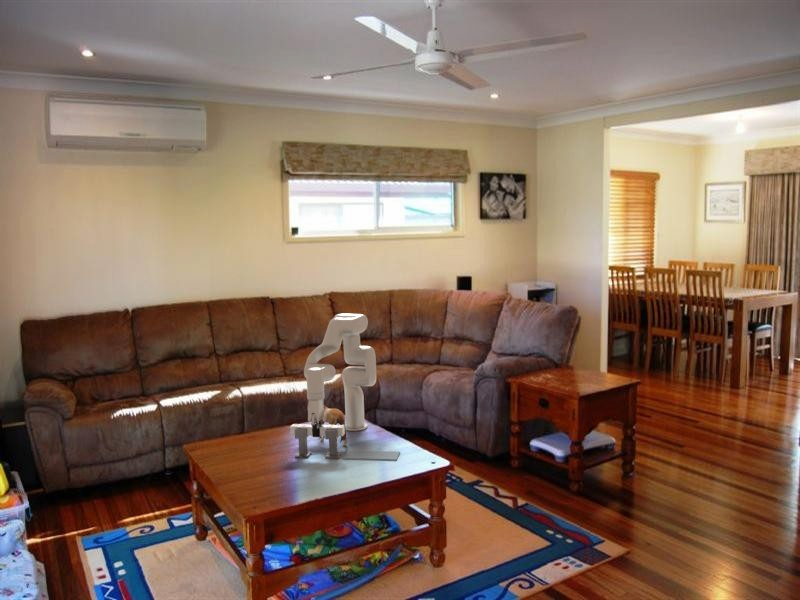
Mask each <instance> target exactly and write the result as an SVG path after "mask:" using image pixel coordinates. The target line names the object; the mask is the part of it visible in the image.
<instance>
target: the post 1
mask: <svg viewBox="0 0 800 600" xmlns="http://www.w3.org/2000/svg"><path fill="white" fill-rule="evenodd" d="M308 437H309V436H306V429H295V435H294V439H295V440H297V439H298V452H297V453H296V454H295V455H294V458H295V459H296V458H297V459H298V458H299V459H309V458H310V457H311V456H312V454H313V451H312V450H311V451H309V450H308V449H309V447H308Z"/></svg>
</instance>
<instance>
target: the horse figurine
mask: <svg viewBox="0 0 800 600" xmlns="http://www.w3.org/2000/svg"><path fill="white" fill-rule="evenodd" d="M305 399H306V405H307V406H308V402H309V400H308V397H305ZM306 408H307V411H308V407H306ZM325 423H328V425H344V426H345V424H346V416H345V414H344V413H343V411H342V410H340V409H338V408H329V407H327V406H326V405H325V404H324V417H323V418H322V425H325ZM347 432H348V431H347V430H346V426H345V434H344V435H343V436H340V441H339V443H342V442H343V441H344V442H343V444H342V446H343V447H347V446H348V440H347V435H348V434H347ZM319 438H320V442H324V441H325V436H320V437H319Z"/></svg>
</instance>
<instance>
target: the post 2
mask: <svg viewBox="0 0 800 600" xmlns="http://www.w3.org/2000/svg"><path fill="white" fill-rule="evenodd" d="M339 437H340V436H337V430H325V438H324V440H328V449H329V450H328V452H327V454H326V455H325V459H326V460H327V459H328V460H330V459H331V460H333V459H334V460H339V459H340V458H341V456H342V455H343V452H342V451H339V450H338V438H339Z"/></svg>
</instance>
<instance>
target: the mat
mask: <svg viewBox="0 0 800 600" xmlns="http://www.w3.org/2000/svg"><path fill="white" fill-rule="evenodd" d="M400 454H401V451H396V450H395V451H392V450H385V451H384V450H357V449H356V450H349V449H348V450H347V451H346V452H345V454H344V455H343V456H342V460H361V461H362V460H365V461H366V460H367V461H392V460H393V461H397V460H398V458H399V456H400Z"/></svg>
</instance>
